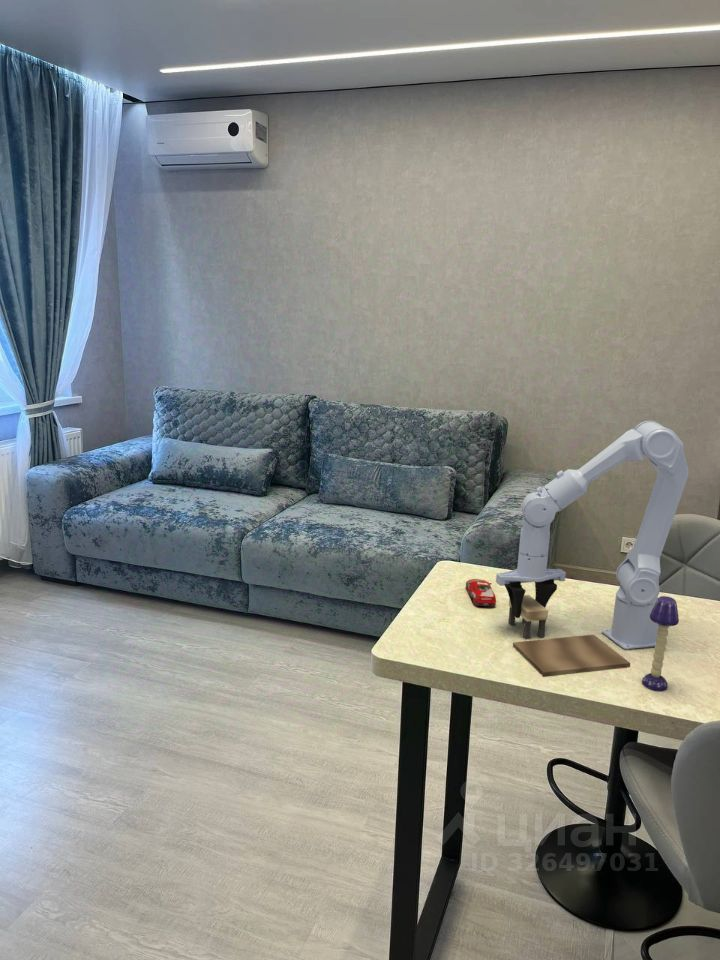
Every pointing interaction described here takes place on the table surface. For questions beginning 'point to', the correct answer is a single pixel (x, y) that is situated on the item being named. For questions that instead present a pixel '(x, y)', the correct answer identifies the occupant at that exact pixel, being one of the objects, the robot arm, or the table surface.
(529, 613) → the oak stool
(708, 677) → the table surface
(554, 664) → the walnut board
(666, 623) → the toy lamp
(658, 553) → the robot arm
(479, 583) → the race car
